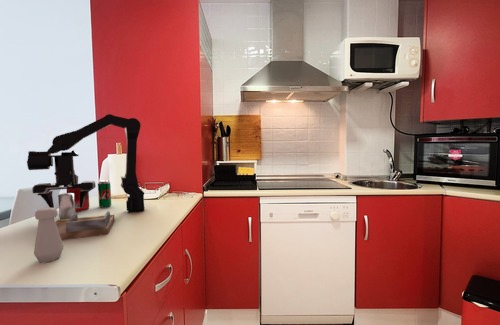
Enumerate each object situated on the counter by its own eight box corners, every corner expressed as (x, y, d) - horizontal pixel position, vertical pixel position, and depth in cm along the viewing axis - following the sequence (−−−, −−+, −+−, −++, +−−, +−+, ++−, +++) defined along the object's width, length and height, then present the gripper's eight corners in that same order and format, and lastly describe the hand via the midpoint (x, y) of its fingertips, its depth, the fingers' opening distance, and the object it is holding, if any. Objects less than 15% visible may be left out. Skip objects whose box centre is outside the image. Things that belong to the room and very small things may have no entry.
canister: (77, 217, 99) (75, 192, 99) (73, 220, 95) (72, 194, 94) (62, 218, 97) (60, 193, 97) (57, 222, 93) (55, 195, 92)
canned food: (93, 208, 113) (92, 184, 113) (76, 212, 106) (74, 187, 105) (81, 206, 116) (79, 183, 115) (63, 211, 108) (62, 186, 107)
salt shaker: (46, 254, 66) (42, 206, 65) (69, 253, 66) (66, 205, 65) (28, 265, 60) (24, 212, 59) (53, 263, 60) (50, 211, 59)
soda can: (113, 205, 119) (112, 180, 118) (106, 207, 114) (105, 181, 113) (103, 204, 119) (102, 180, 118) (96, 207, 114) (94, 181, 113)
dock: (114, 220, 95) (114, 207, 94) (108, 234, 80) (107, 219, 80) (57, 226, 88) (56, 212, 88) (38, 242, 73) (37, 226, 73)
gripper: (97, 165, 105) (99, 202, 107) (42, 167, 99) (45, 206, 100) (91, 168, 95) (93, 208, 96) (30, 170, 88) (33, 213, 89)
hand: (67, 208), depth 96 cm, fingers open, 9 cm apart
